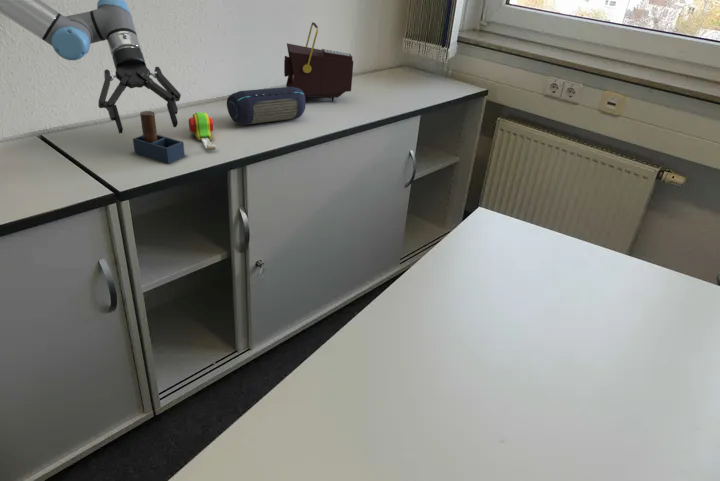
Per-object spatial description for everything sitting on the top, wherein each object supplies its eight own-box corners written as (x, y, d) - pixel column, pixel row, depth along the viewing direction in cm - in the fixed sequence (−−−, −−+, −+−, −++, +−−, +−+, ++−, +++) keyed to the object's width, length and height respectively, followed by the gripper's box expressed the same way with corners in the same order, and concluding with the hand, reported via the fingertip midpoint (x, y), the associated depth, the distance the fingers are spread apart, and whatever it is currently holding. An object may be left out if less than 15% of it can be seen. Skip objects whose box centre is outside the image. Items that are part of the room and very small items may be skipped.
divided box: (151, 146, 146) (149, 132, 144) (184, 156, 143) (183, 141, 140) (134, 153, 142) (132, 138, 140) (168, 163, 138) (166, 148, 136)
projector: (282, 91, 199) (283, 19, 187) (344, 93, 204) (349, 23, 192) (285, 103, 185) (286, 26, 173) (351, 105, 190) (357, 30, 178)
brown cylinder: (142, 150, 142) (137, 113, 137) (152, 146, 145) (147, 110, 139) (152, 153, 141) (147, 116, 136) (161, 149, 143) (157, 112, 138)
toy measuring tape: (208, 128, 162) (207, 106, 159) (223, 150, 147) (222, 126, 144) (186, 129, 159) (184, 107, 156) (199, 151, 144) (197, 128, 141)
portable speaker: (238, 130, 160) (237, 96, 155) (224, 120, 167) (223, 88, 162) (310, 121, 174) (312, 90, 169) (295, 112, 180) (295, 82, 176)
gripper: (74, 47, 132) (96, 126, 129) (177, 43, 144) (199, 115, 141) (74, 64, 138) (96, 140, 136) (173, 59, 151) (194, 128, 148)
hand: (149, 128), depth 139 cm, fingers open, 13 cm apart
